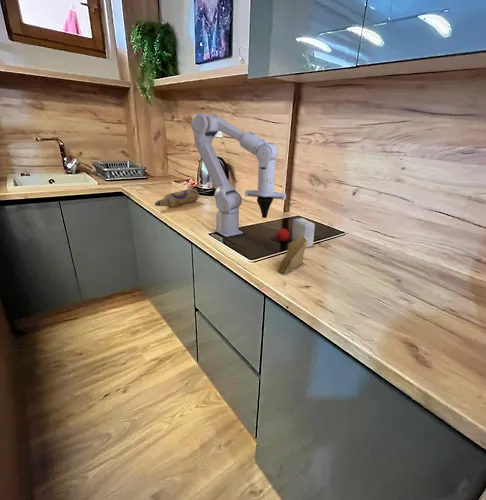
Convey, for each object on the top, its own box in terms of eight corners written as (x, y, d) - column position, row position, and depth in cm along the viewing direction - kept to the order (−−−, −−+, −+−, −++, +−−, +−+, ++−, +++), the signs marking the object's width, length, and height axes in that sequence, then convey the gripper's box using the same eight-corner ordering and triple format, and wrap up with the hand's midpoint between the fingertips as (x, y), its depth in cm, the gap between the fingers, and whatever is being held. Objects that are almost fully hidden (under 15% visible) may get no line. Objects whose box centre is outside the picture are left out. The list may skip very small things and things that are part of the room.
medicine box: (313, 246, 110) (315, 223, 107) (303, 248, 108) (305, 225, 105) (300, 239, 117) (302, 217, 113) (291, 240, 114) (292, 218, 111)
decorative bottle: (189, 199, 165) (188, 187, 163) (199, 201, 162) (199, 189, 159) (150, 209, 145) (148, 195, 142) (161, 212, 141) (159, 198, 139)
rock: (285, 271, 85) (315, 262, 89) (275, 243, 87) (305, 235, 90) (273, 278, 95) (300, 268, 99) (264, 252, 97) (291, 244, 100)
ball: (271, 233, 113) (280, 224, 111) (279, 235, 117) (288, 226, 114) (277, 243, 111) (286, 235, 108) (285, 245, 114) (294, 237, 112)
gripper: (242, 180, 103) (242, 218, 109) (284, 183, 101) (282, 222, 106) (248, 176, 110) (247, 212, 115) (287, 180, 107) (285, 217, 113)
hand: (264, 217), depth 111 cm, fingers closed
